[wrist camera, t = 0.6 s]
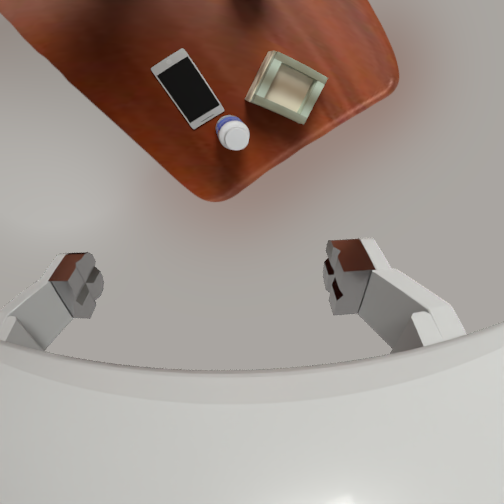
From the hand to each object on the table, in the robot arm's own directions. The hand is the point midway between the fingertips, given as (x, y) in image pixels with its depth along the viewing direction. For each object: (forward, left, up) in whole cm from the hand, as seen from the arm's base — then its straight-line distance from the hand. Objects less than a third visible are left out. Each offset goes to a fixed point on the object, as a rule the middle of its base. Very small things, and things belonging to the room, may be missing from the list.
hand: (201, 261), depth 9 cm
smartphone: (-2, -2, -47) cm, 48 cm away
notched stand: (-9, +15, -47) cm, 50 cm away
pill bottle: (+3, +9, -47) cm, 48 cm away
